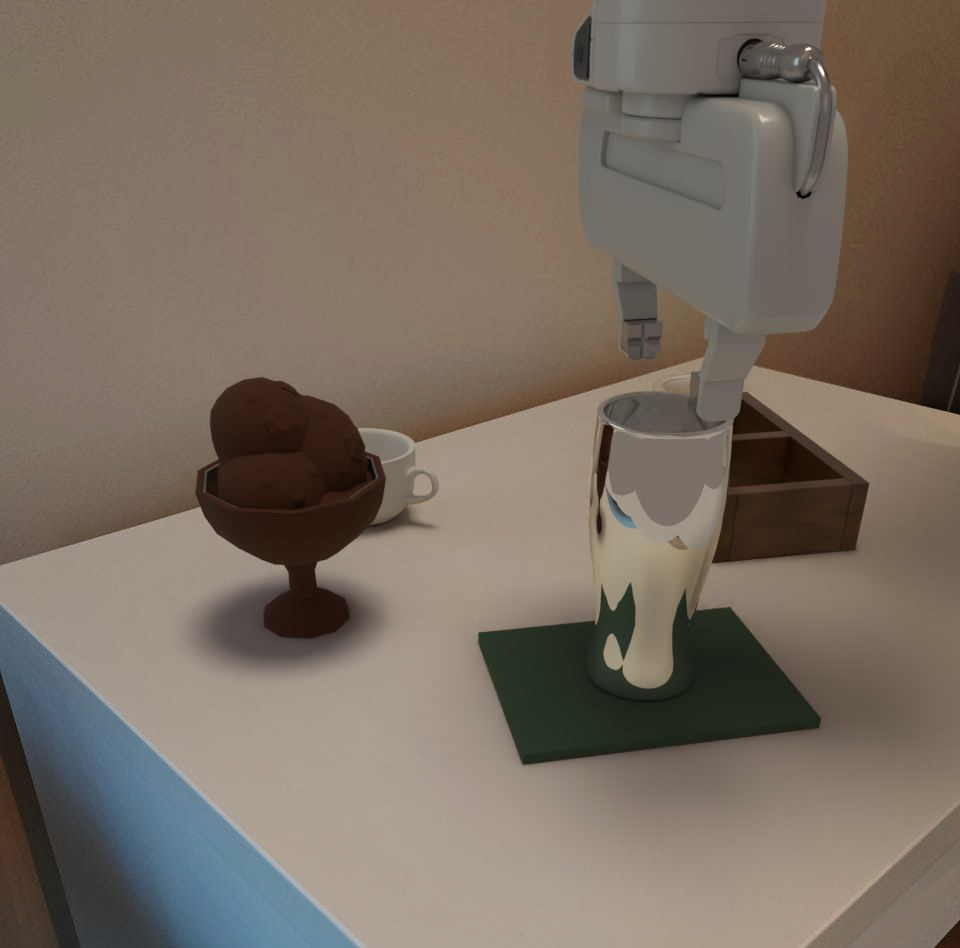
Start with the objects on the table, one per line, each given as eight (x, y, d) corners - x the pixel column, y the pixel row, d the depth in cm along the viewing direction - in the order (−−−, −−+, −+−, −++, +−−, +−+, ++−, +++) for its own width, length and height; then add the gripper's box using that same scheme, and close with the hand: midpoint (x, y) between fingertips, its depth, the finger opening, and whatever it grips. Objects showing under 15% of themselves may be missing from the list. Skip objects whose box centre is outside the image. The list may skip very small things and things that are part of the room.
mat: (729, 614, 62) (730, 606, 62) (819, 727, 52) (821, 718, 52) (478, 640, 60) (478, 632, 60) (522, 764, 50) (523, 754, 50)
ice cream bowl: (295, 684, 56) (264, 426, 48) (183, 616, 62) (139, 380, 55) (429, 613, 63) (421, 377, 55) (315, 559, 69) (293, 341, 61)
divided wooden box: (739, 447, 87) (747, 391, 84) (855, 549, 70) (869, 483, 68) (621, 456, 85) (626, 399, 83) (711, 562, 69) (720, 495, 66)
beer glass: (554, 679, 55) (565, 417, 47) (614, 626, 60) (633, 380, 52) (668, 722, 52) (702, 447, 44) (722, 662, 57) (761, 405, 49)
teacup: (294, 524, 74) (287, 455, 71) (346, 487, 80) (341, 422, 77) (415, 548, 70) (412, 476, 68) (460, 507, 76) (459, 440, 74)
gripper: (929, 43, 32) (847, 457, 39) (685, 37, 49) (659, 326, 56) (743, 44, 30) (694, 471, 38) (560, 38, 47) (550, 332, 55)
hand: (672, 383), depth 47 cm, fingers open, 8 cm apart
